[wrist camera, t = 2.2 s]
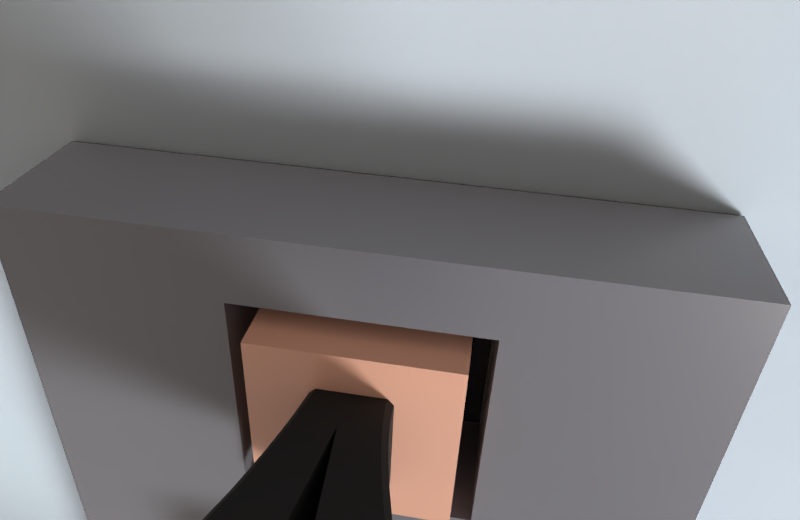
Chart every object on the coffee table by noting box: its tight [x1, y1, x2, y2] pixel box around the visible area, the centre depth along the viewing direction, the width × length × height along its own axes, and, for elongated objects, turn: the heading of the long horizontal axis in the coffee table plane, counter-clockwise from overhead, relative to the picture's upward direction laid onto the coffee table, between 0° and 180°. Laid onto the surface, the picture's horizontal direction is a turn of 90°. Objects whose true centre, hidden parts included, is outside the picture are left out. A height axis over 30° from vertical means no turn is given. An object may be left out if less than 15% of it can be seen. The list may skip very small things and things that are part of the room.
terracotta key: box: [241, 308, 473, 520], centre depth 13 cm, size 4×4×3 cm
